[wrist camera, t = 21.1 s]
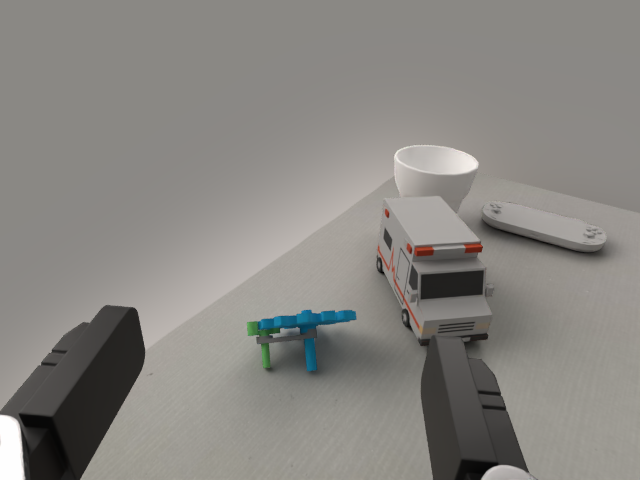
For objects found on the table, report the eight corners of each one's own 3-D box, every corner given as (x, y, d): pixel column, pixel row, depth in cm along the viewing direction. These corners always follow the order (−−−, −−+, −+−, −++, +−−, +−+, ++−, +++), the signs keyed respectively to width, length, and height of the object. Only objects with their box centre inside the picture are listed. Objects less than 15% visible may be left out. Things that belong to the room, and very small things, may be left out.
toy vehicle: (410, 353, 47) (425, 276, 42) (368, 263, 62) (375, 197, 57) (493, 345, 49) (517, 270, 44) (433, 258, 63) (446, 194, 58)
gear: (353, 309, 50) (356, 300, 41) (360, 363, 49) (364, 367, 39) (256, 319, 51) (236, 313, 41) (260, 373, 49) (240, 380, 40)
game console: (477, 212, 71) (490, 194, 77) (474, 226, 72) (487, 207, 78) (605, 247, 63) (608, 224, 69) (599, 261, 64) (603, 237, 70)
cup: (424, 200, 80) (434, 140, 74) (480, 230, 71) (497, 164, 65) (370, 216, 74) (377, 152, 68) (425, 251, 65) (438, 181, 59)
